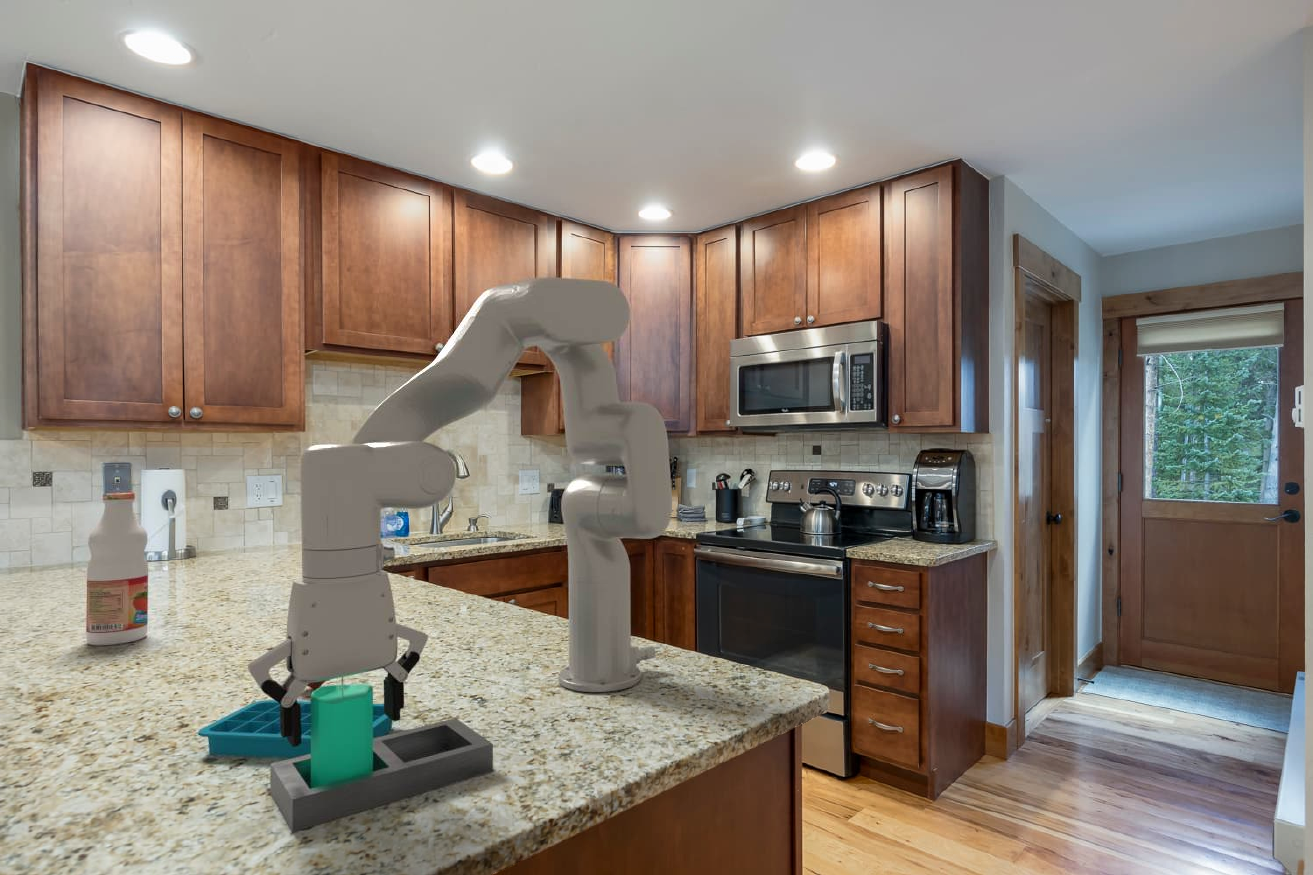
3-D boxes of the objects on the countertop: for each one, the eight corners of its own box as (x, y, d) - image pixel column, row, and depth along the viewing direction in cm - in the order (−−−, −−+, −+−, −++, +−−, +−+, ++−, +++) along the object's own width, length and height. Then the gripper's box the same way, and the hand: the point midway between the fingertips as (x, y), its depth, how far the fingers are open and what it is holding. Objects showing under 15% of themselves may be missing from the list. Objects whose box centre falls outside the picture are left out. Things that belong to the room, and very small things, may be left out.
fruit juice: (82, 640, 137) (84, 493, 138) (142, 631, 144) (144, 491, 145) (89, 649, 131) (91, 495, 131) (151, 639, 137) (153, 493, 138)
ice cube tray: (356, 766, 81) (356, 740, 81) (191, 759, 83) (192, 733, 83) (404, 727, 92) (404, 704, 92) (258, 722, 95) (258, 699, 95)
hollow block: (455, 743, 86) (455, 718, 86) (492, 771, 79) (492, 743, 79) (270, 792, 74) (270, 763, 74) (292, 832, 66) (292, 799, 66)
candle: (296, 802, 72) (296, 681, 72) (343, 777, 77) (343, 665, 78) (341, 812, 70) (341, 688, 70) (386, 786, 75) (386, 671, 76)
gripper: (412, 550, 82) (414, 699, 82) (240, 569, 72) (243, 740, 72) (437, 557, 77) (440, 718, 76) (254, 579, 66) (257, 766, 66)
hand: (344, 729), depth 74 cm, fingers open, 9 cm apart
